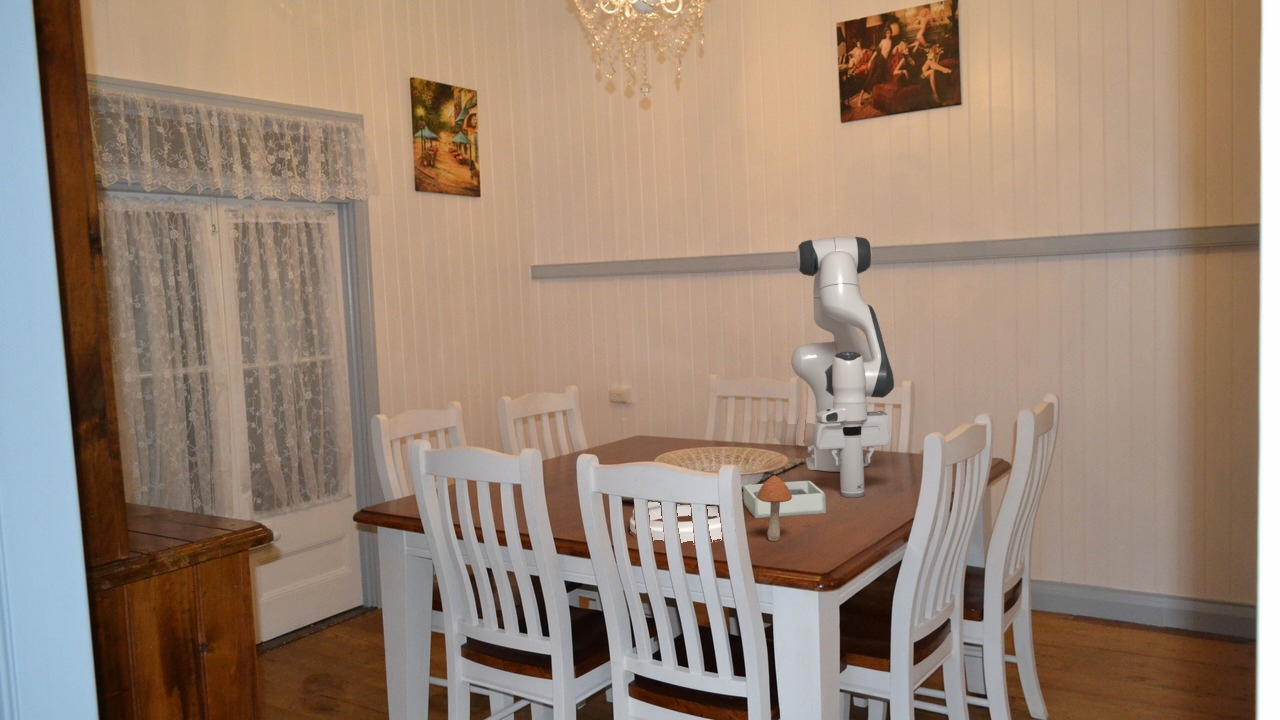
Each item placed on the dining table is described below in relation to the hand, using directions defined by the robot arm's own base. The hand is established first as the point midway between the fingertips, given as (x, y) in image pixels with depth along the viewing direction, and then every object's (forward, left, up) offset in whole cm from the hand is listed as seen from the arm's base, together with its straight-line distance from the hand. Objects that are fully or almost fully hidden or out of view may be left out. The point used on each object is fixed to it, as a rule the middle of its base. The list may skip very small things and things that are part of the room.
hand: (852, 464), depth 254 cm
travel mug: (-1, 0, -9) cm, 9 cm away
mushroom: (+37, -29, -9) cm, 48 cm away
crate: (+8, -21, -9) cm, 24 cm away
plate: (+22, -48, -9) cm, 54 cm away
